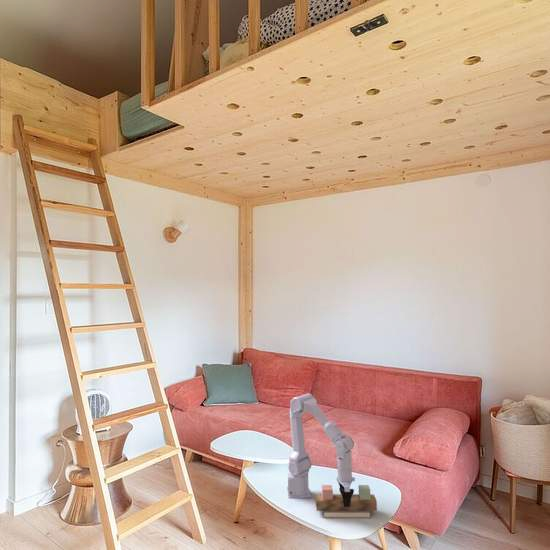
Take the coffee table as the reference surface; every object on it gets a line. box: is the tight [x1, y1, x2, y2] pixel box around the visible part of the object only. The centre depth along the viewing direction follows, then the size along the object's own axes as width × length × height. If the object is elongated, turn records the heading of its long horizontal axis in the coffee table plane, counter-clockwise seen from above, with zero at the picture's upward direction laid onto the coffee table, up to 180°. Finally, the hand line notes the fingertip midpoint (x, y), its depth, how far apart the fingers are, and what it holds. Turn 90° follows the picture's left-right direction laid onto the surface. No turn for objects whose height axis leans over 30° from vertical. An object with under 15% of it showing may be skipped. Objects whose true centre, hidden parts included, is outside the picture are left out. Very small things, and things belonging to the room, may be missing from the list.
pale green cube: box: [358, 484, 371, 500], centre depth 163 cm, size 4×4×4 cm
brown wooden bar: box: [315, 493, 378, 512], centre depth 163 cm, size 24×5×4 cm, turn 88°
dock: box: [322, 511, 371, 518], centre depth 163 cm, size 18×7×2 cm, turn 88°
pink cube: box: [321, 484, 334, 500], centre depth 164 cm, size 4×4×4 cm
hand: (345, 501), depth 163 cm, fingers open, 7 cm apart
